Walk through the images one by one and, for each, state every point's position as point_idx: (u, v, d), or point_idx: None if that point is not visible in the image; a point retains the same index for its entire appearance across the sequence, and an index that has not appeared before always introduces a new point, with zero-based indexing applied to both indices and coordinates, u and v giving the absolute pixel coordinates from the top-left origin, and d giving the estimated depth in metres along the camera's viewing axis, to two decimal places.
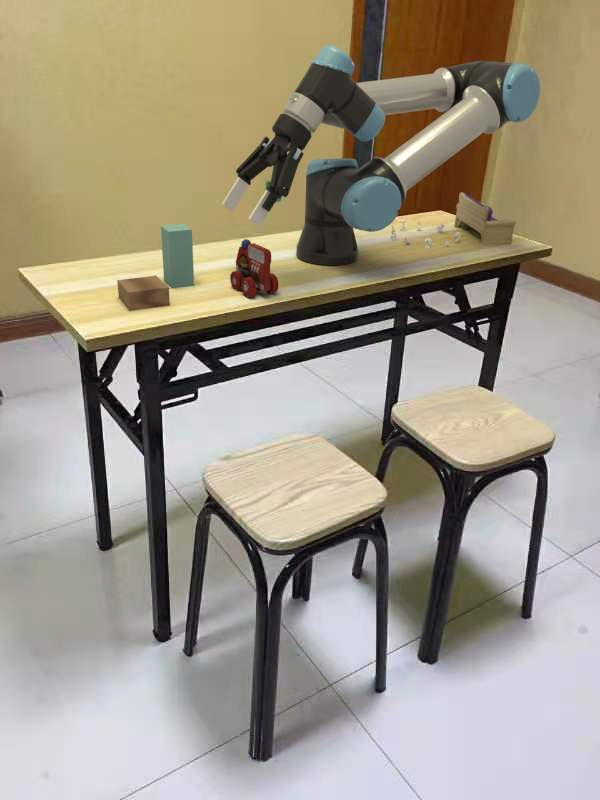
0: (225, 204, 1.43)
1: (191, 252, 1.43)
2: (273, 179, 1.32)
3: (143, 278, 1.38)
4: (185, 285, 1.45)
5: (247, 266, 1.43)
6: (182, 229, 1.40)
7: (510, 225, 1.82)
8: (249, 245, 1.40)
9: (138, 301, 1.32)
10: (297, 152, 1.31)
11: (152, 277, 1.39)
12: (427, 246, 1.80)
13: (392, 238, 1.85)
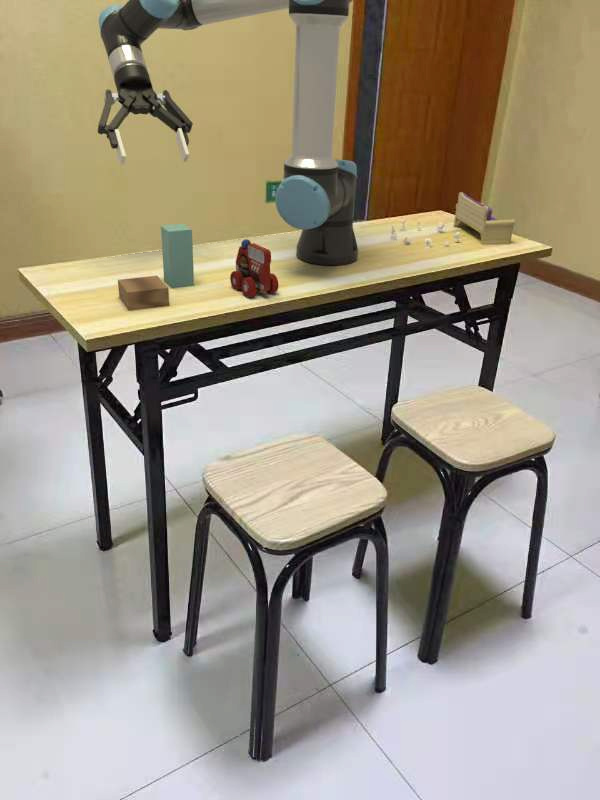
0: (183, 159, 1.48)
1: (191, 252, 1.43)
2: None
3: (144, 277, 1.38)
4: (185, 285, 1.45)
5: (247, 266, 1.43)
6: (182, 229, 1.40)
7: (509, 225, 1.83)
8: (249, 245, 1.40)
9: (137, 301, 1.32)
10: (105, 97, 1.45)
11: (153, 277, 1.39)
12: (427, 246, 1.80)
13: (392, 238, 1.85)
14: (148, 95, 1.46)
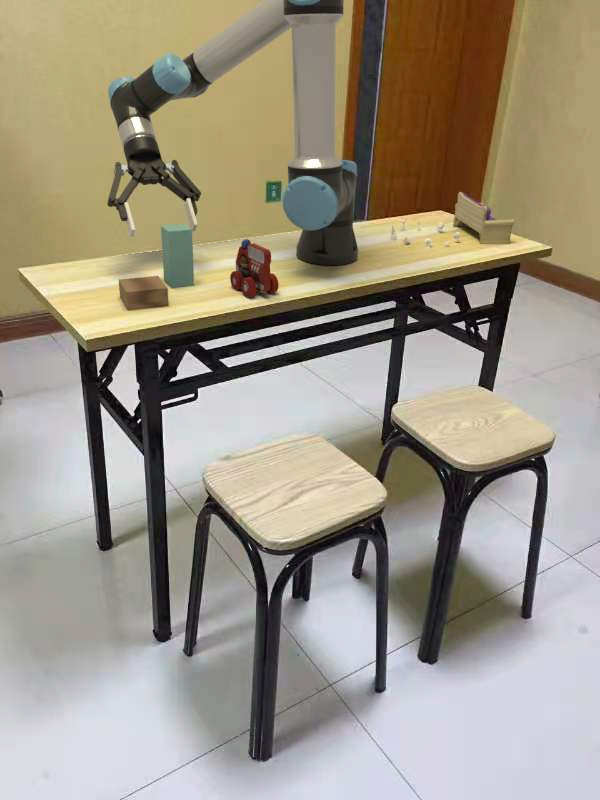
0: (191, 228, 1.50)
1: (191, 252, 1.43)
2: None
3: (145, 278, 1.38)
4: (185, 285, 1.45)
5: (247, 266, 1.43)
6: (182, 229, 1.40)
7: (508, 225, 1.83)
8: (249, 245, 1.40)
9: (136, 301, 1.32)
10: (114, 169, 1.47)
11: (153, 277, 1.38)
12: (427, 246, 1.80)
13: (392, 238, 1.85)
14: (157, 166, 1.48)
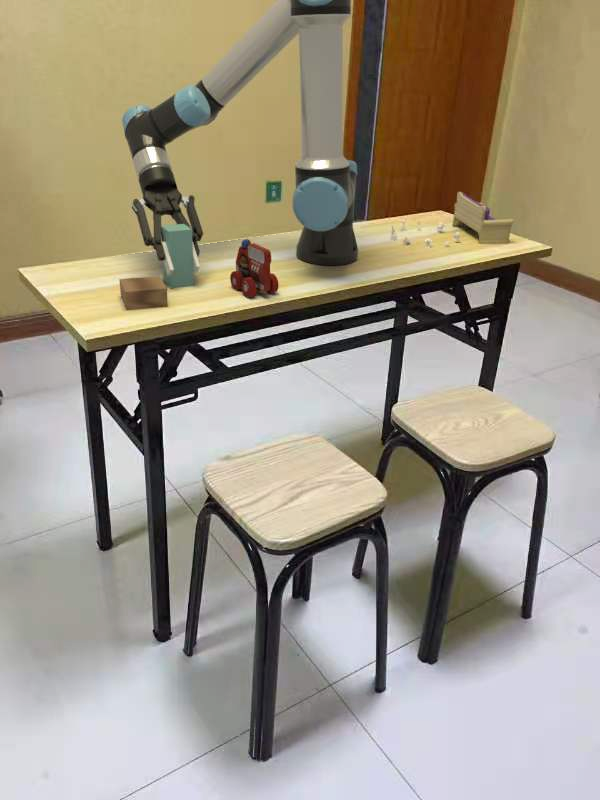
0: (194, 270, 1.44)
1: (191, 252, 1.43)
2: None
3: (145, 278, 1.38)
4: (185, 285, 1.45)
5: (247, 266, 1.43)
6: (182, 229, 1.40)
7: (507, 224, 1.83)
8: (249, 245, 1.40)
9: (135, 301, 1.32)
10: (133, 207, 1.43)
11: (154, 277, 1.38)
12: (427, 246, 1.80)
13: (392, 238, 1.85)
14: (172, 197, 1.45)
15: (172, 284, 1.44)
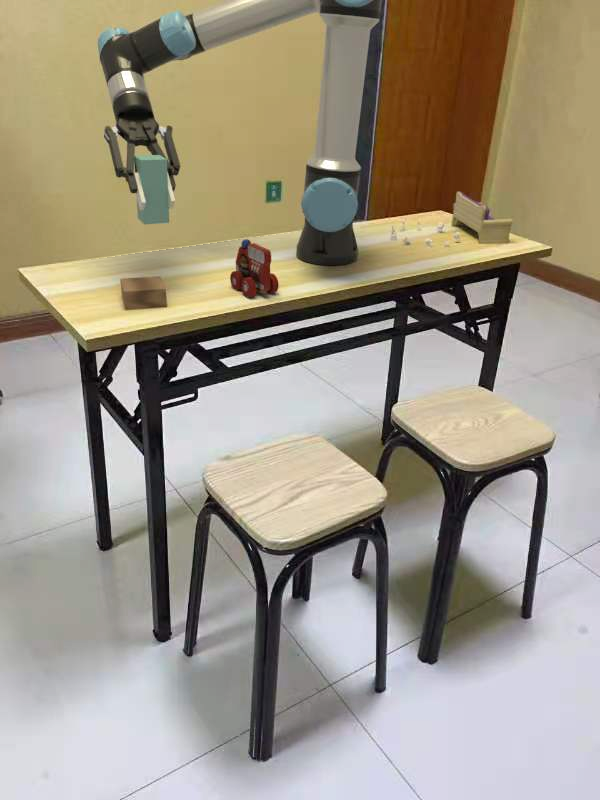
0: (169, 205, 1.34)
1: (166, 185, 1.32)
2: None
3: (146, 278, 1.38)
4: (159, 222, 1.35)
5: (247, 266, 1.43)
6: (156, 159, 1.30)
7: (507, 224, 1.83)
8: (249, 245, 1.40)
9: (134, 301, 1.32)
10: (105, 135, 1.33)
11: (155, 277, 1.38)
12: (427, 246, 1.80)
13: (392, 238, 1.85)
14: (148, 126, 1.34)
15: (145, 220, 1.33)
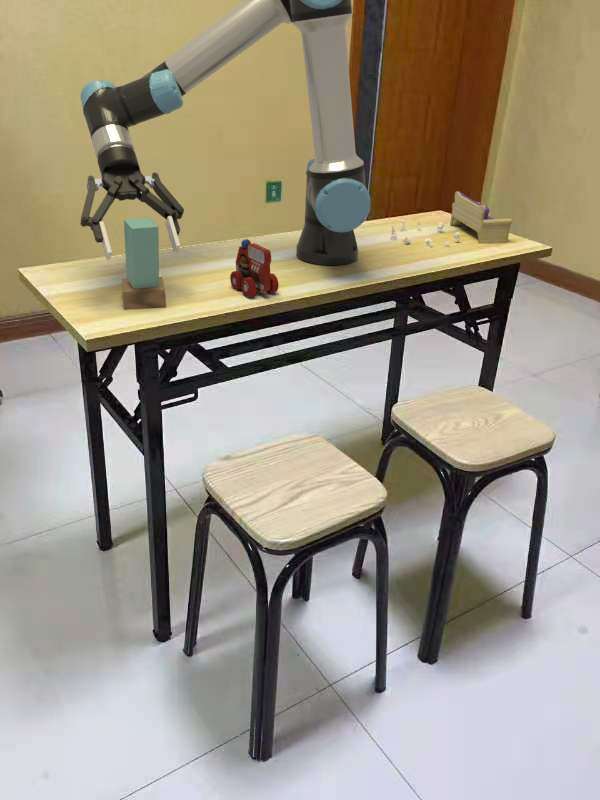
0: (173, 250, 1.33)
1: (157, 251, 1.30)
2: None
3: None
4: (149, 286, 1.33)
5: (247, 266, 1.43)
6: (147, 226, 1.27)
7: (506, 224, 1.84)
8: (249, 245, 1.40)
9: (133, 301, 1.32)
10: (87, 183, 1.30)
11: None
12: (427, 246, 1.80)
13: (392, 238, 1.85)
14: (135, 180, 1.32)
15: (135, 285, 1.32)
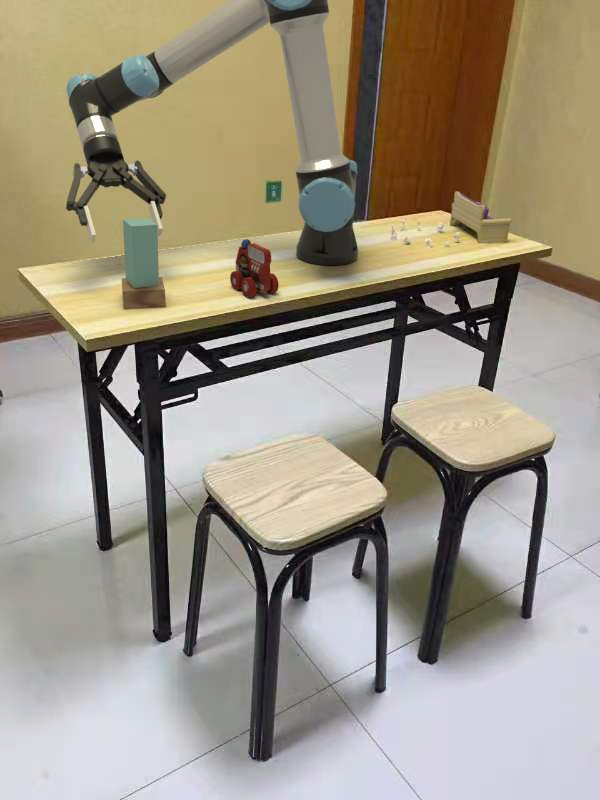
0: None
1: (156, 249, 1.31)
2: None
3: None
4: (149, 285, 1.33)
5: (247, 266, 1.43)
6: (147, 224, 1.28)
7: (506, 223, 1.84)
8: (249, 245, 1.40)
9: (133, 300, 1.32)
10: (73, 171, 1.38)
11: None
12: (427, 246, 1.80)
13: (392, 238, 1.85)
14: (119, 167, 1.40)
15: (135, 284, 1.32)
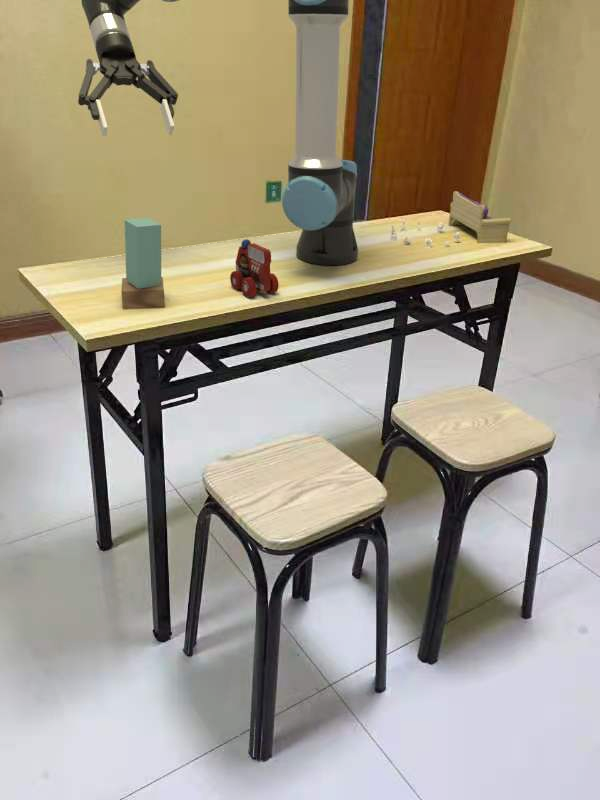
0: (168, 131, 1.42)
1: (159, 249, 1.31)
2: None
3: None
4: (152, 285, 1.33)
5: (247, 266, 1.43)
6: (150, 224, 1.28)
7: (505, 223, 1.84)
8: (249, 245, 1.40)
9: (132, 301, 1.32)
10: (86, 67, 1.39)
11: None
12: (427, 246, 1.80)
13: (392, 238, 1.85)
14: (131, 65, 1.40)
15: (139, 284, 1.32)
